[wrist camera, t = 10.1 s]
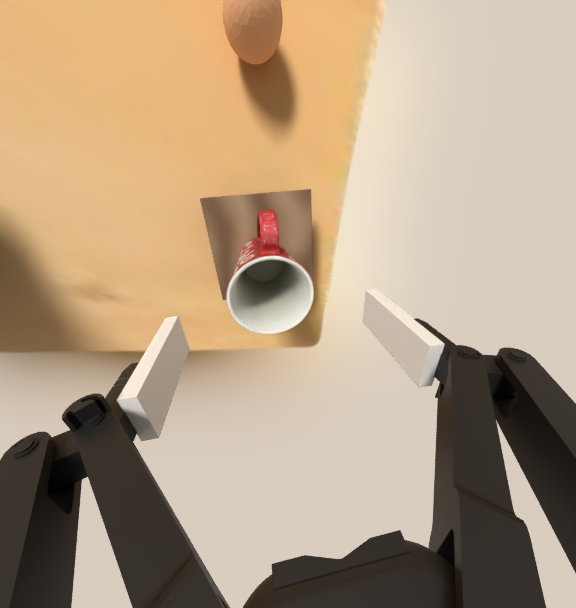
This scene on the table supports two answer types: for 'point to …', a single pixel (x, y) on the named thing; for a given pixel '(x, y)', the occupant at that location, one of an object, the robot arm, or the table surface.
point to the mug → (268, 283)
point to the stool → (243, 227)
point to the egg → (253, 28)
